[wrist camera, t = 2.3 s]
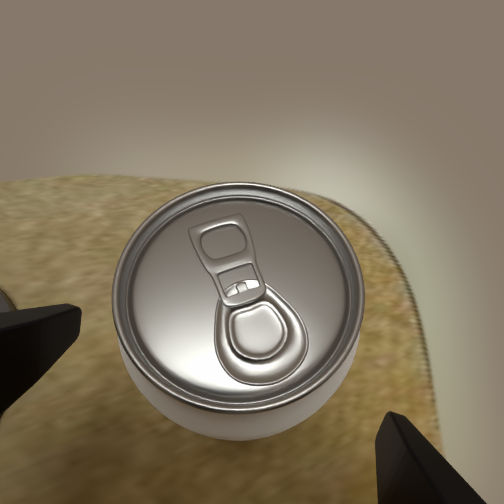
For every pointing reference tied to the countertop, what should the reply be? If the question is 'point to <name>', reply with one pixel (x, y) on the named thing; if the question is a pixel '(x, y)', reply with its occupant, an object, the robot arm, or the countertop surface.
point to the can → (238, 309)
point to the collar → (5, 305)
